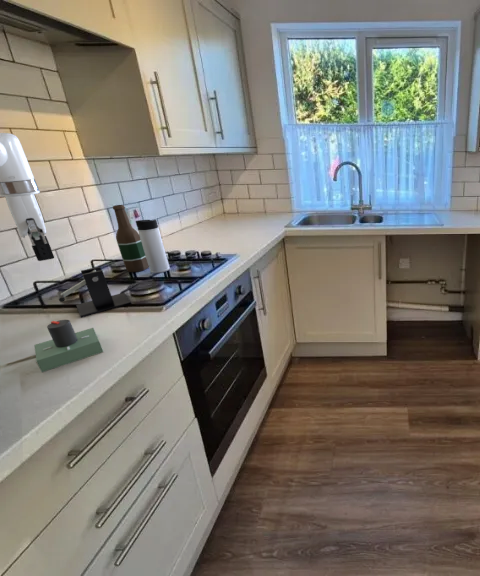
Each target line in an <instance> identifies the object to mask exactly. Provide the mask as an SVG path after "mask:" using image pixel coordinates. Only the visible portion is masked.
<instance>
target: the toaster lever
mask: <svg viewBox="0 0 480 576" xmlns="http://www.w3.org/2000/svg"><path fill="white" fill-rule="evenodd" d="M95 271H96V270H93V271H91V272H95ZM84 286H86V282H85V279H84V278H83V279H82V280H81V281H79V282H78V283H76V284H74V285H72V286H71V287H70V288H68V289H66V290H65V291H63V292H62V291H57V292H56V295H57V298H58V301H59V302H60V303H64V302H65V301H66V299H65V298H66V297H67V296H69V295H70V294H72V293H74V292H76V291H77V290H79V289H81V288H82V287H84Z"/></svg>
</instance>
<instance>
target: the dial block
mask: <svg viewBox="0 0 480 576" xmlns="http://www.w3.org/2000/svg"><path fill="white" fill-rule="evenodd" d="M75 334H76V336H77V339H78V340H77V341H76V342H75V343H74V344H71V345H69V346H65V347H56V346H55V344H54V341H53V339H49V340H47V341H43V342H39V343H35V344H34V352H35V353H34V354H35V360H36V363H37V365H38V367H39V370H40V371H41V373H44V372H47V371H50V370H53V369H56V368H59V367H62V366H66V365H68V364H71V363H73V362H77V361H80V360H83V359H86V358H90V357H92V356H94V355H98V354H102V353H104V350H103V347H102V345H101V342H100V339H99V337H98V335H97V332H96V331H95V328H94V327H91V328H87V329H84V330H80V331H77V332H75Z"/></svg>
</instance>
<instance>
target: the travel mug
mask: <svg viewBox="0 0 480 576" xmlns="http://www.w3.org/2000/svg"><path fill="white" fill-rule="evenodd" d="M135 225H136V227H137V232H138V234H139V235H140V239H141V242H142V245H143V249H144V252H145V255H146V259H147V262H148V265H149V268H148V269H149V272H150V274H162V273H165V272H167V271H170V269H171V266H170V264H169V260H168V257H167V252H166V249H165V246H164V242H163V239H162V235H161V232H160V231H161V230H160V229H159V228H160V227H159V225H158V222H157V219H140V220H139V219H138V220H135Z"/></svg>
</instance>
